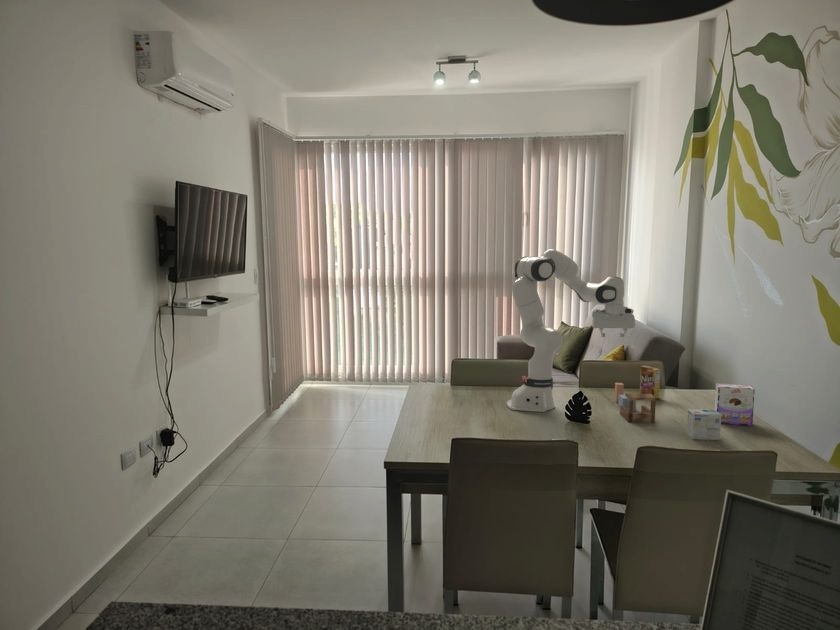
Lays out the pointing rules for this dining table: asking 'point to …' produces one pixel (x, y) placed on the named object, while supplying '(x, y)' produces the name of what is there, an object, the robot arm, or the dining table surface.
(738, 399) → the candy box
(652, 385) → the candy box
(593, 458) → the dining table surface
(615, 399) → the tethered block
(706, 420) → the light bulb box
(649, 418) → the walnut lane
